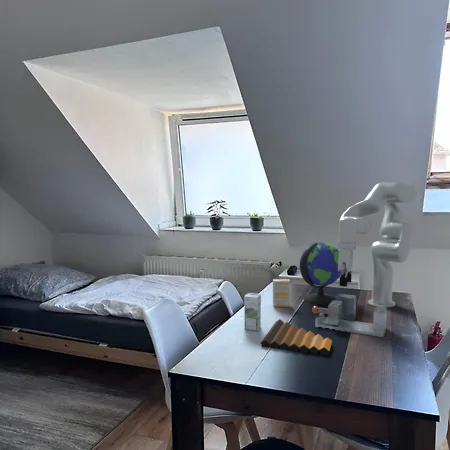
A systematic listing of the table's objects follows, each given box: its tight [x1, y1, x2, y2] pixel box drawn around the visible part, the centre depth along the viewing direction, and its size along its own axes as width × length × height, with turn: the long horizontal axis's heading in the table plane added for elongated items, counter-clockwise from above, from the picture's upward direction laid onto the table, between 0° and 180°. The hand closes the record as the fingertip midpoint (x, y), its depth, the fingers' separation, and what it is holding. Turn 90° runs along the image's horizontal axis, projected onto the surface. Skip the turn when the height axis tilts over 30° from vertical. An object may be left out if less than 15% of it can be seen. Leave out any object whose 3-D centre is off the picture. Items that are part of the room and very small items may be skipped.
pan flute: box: [260, 318, 333, 356], centre depth 165 cm, size 25×3×25 cm
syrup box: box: [243, 292, 262, 332], centre depth 176 cm, size 6×6×14 cm
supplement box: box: [272, 278, 291, 308], centre depth 208 cm, size 8×5×13 cm, turn 84°
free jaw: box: [311, 300, 343, 325], centre depth 181 cm, size 9×12×8 cm
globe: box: [299, 242, 341, 306], centre depth 217 cm, size 22×22×30 cm
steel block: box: [335, 293, 357, 321], centre depth 190 cm, size 5×8×10 cm, turn 63°
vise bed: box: [314, 306, 388, 338], centre depth 176 cm, size 11×27×9 cm, turn 63°
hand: (345, 284), depth 188 cm, fingers open, 9 cm apart
